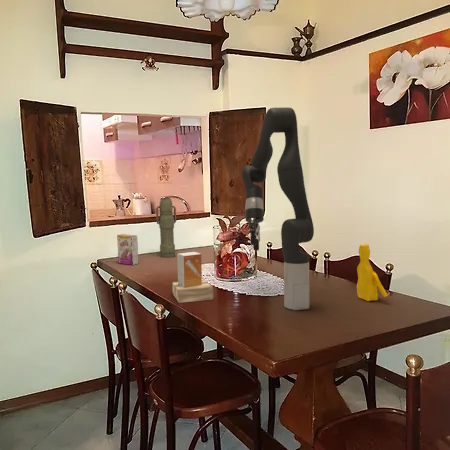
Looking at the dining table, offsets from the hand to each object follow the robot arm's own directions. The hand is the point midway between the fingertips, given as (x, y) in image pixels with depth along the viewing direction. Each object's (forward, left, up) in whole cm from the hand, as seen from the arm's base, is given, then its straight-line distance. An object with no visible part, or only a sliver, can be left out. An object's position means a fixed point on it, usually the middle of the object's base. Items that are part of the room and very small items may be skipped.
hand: (254, 247), depth 188 cm
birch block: (+7, +25, -20) cm, 33 cm away
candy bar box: (+84, +45, -20) cm, 97 cm away
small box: (+7, +26, -15) cm, 31 cm away
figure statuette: (-21, -39, -20) cm, 49 cm away
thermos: (+98, +20, -20) cm, 102 cm away
